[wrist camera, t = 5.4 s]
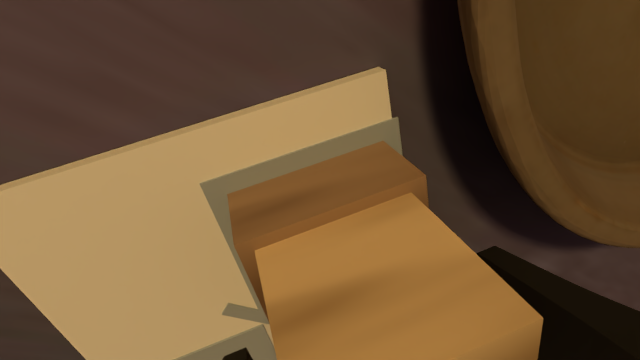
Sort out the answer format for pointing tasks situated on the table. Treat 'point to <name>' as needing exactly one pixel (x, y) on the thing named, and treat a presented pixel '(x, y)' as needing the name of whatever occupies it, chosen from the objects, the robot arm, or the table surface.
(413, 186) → the walnut block
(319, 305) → the oak block
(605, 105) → the plant saucer
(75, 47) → the table surface
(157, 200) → the board
